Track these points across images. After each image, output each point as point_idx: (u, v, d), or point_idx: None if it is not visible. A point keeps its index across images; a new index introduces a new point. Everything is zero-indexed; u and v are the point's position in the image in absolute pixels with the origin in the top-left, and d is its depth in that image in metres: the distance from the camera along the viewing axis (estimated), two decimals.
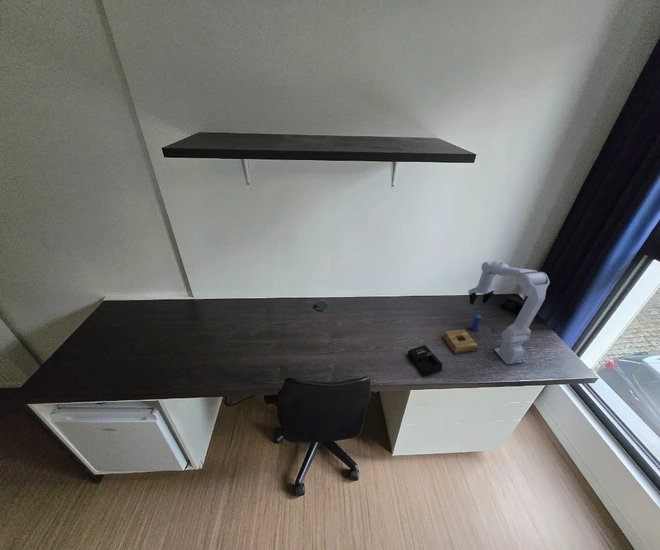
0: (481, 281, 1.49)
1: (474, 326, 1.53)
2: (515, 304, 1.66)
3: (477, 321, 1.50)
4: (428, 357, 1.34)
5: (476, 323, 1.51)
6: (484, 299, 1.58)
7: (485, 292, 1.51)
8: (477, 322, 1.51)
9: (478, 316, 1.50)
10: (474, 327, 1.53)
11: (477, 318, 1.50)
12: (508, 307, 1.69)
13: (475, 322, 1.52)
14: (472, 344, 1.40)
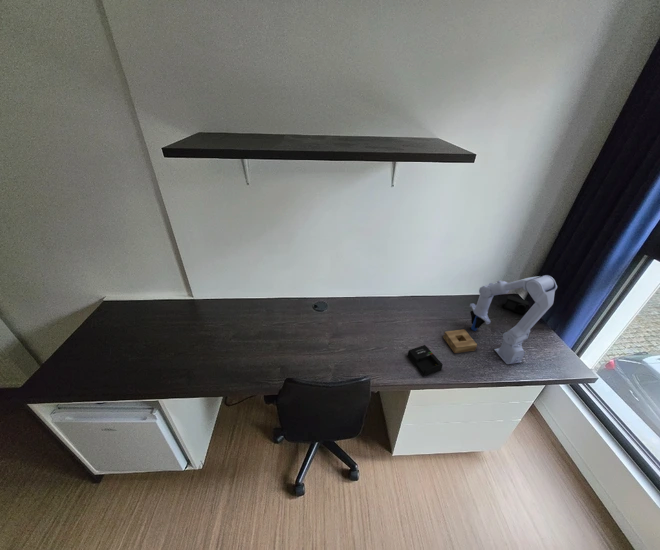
0: (480, 305, 1.45)
1: (474, 326, 1.53)
2: (515, 304, 1.66)
3: None
4: (428, 357, 1.34)
5: None
6: None
7: (474, 312, 1.49)
8: None
9: None
10: (474, 327, 1.53)
11: None
12: (508, 307, 1.69)
13: (475, 322, 1.52)
14: (472, 344, 1.40)
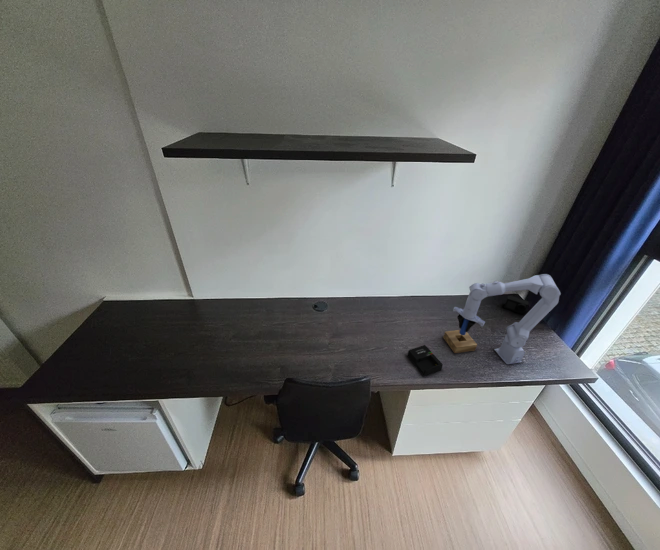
0: (473, 309, 1.30)
1: (464, 330, 1.39)
2: (515, 304, 1.66)
3: (467, 324, 1.37)
4: (428, 357, 1.34)
5: (466, 327, 1.38)
6: None
7: (465, 316, 1.34)
8: (467, 325, 1.38)
9: (467, 319, 1.37)
10: (464, 331, 1.40)
11: (467, 322, 1.36)
12: (508, 307, 1.69)
13: (465, 326, 1.38)
14: (472, 344, 1.40)
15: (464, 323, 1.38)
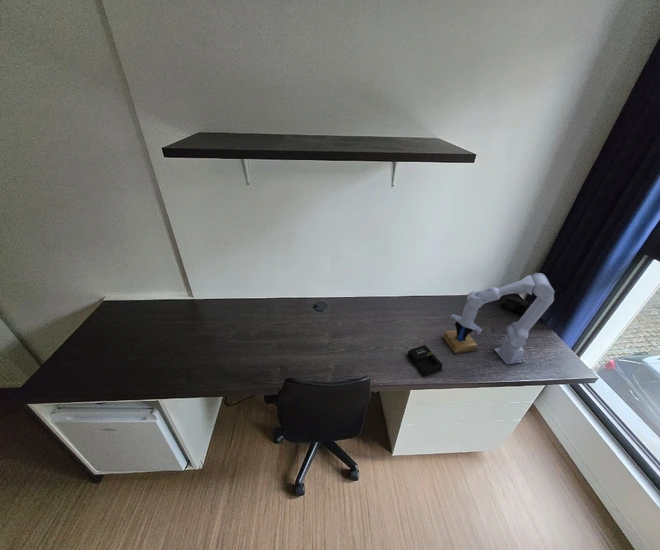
0: (470, 317, 1.33)
1: (461, 337, 1.42)
2: (515, 304, 1.66)
3: None
4: (428, 357, 1.34)
5: (463, 334, 1.41)
6: None
7: (462, 324, 1.37)
8: (464, 333, 1.40)
9: None
10: (461, 338, 1.42)
11: (464, 329, 1.39)
12: (508, 307, 1.69)
13: (462, 333, 1.41)
14: (472, 344, 1.40)
15: (461, 330, 1.40)
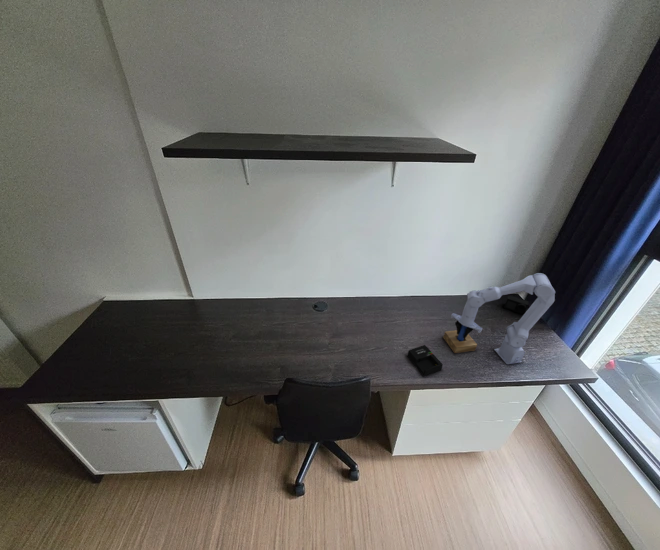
0: (471, 316, 1.33)
1: (462, 336, 1.42)
2: (515, 304, 1.66)
3: None
4: (428, 357, 1.34)
5: (464, 333, 1.40)
6: None
7: (463, 323, 1.36)
8: None
9: None
10: (462, 337, 1.42)
11: (465, 328, 1.39)
12: (508, 307, 1.69)
13: (463, 332, 1.40)
14: (472, 344, 1.40)
15: (462, 329, 1.40)
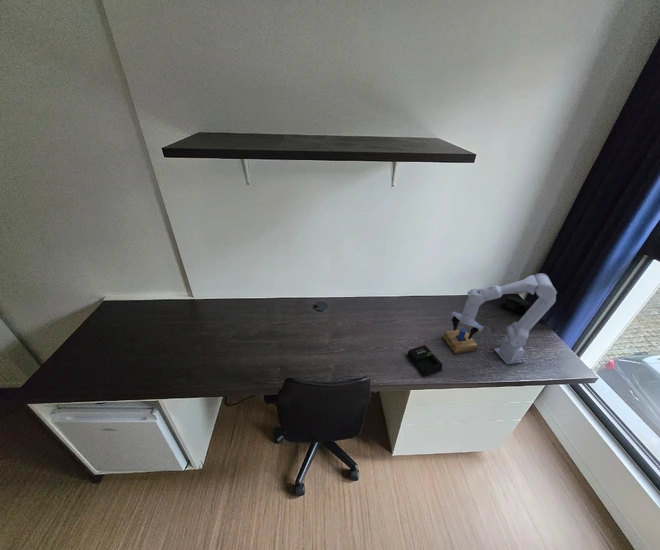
0: (471, 314, 1.32)
1: None
2: (515, 304, 1.66)
3: (464, 336, 1.41)
4: (428, 357, 1.34)
5: (462, 338, 1.42)
6: (470, 334, 1.39)
7: (463, 321, 1.36)
8: (463, 337, 1.42)
9: (463, 330, 1.41)
10: None
11: (463, 333, 1.40)
12: (508, 307, 1.69)
13: (461, 337, 1.42)
14: (472, 344, 1.40)
15: (460, 334, 1.42)
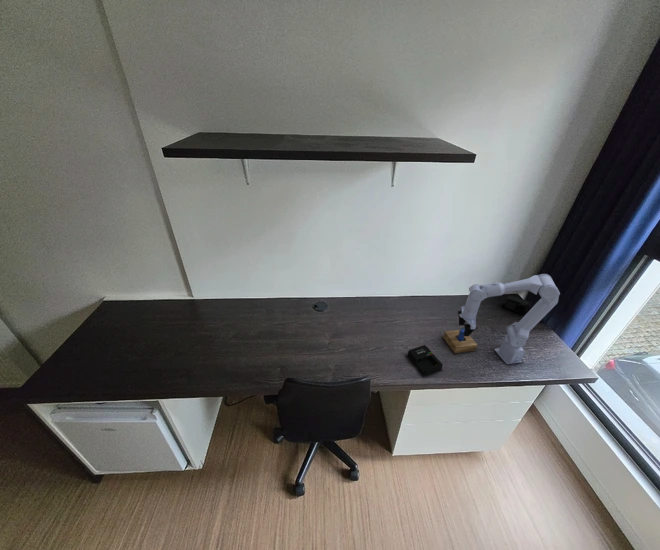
0: (473, 310, 1.31)
1: None
2: (515, 304, 1.66)
3: (464, 336, 1.41)
4: (428, 357, 1.34)
5: (462, 338, 1.42)
6: (462, 322, 1.43)
7: None
8: (463, 337, 1.42)
9: (463, 330, 1.41)
10: None
11: (463, 333, 1.40)
12: (508, 307, 1.69)
13: (461, 337, 1.42)
14: (472, 344, 1.40)
15: (460, 334, 1.42)
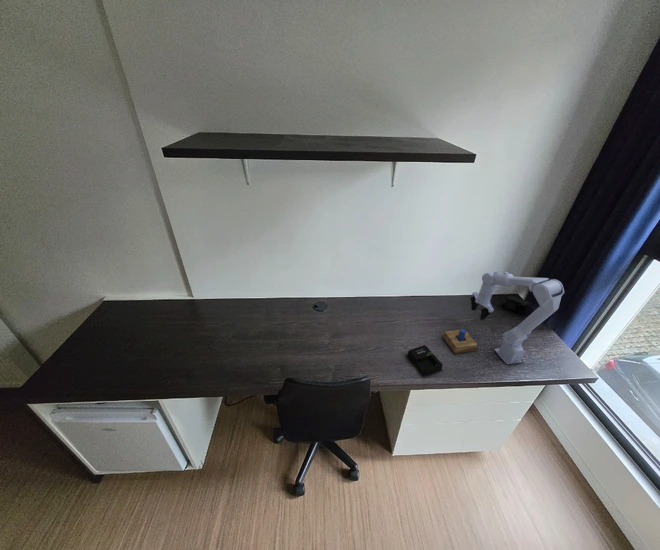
0: (483, 293, 1.42)
1: None
2: (515, 304, 1.66)
3: (464, 336, 1.41)
4: (428, 357, 1.34)
5: (462, 338, 1.42)
6: (474, 307, 1.53)
7: None
8: (463, 337, 1.42)
9: (463, 330, 1.41)
10: None
11: (463, 333, 1.40)
12: (508, 307, 1.69)
13: (461, 337, 1.42)
14: (472, 344, 1.40)
15: (460, 334, 1.42)
